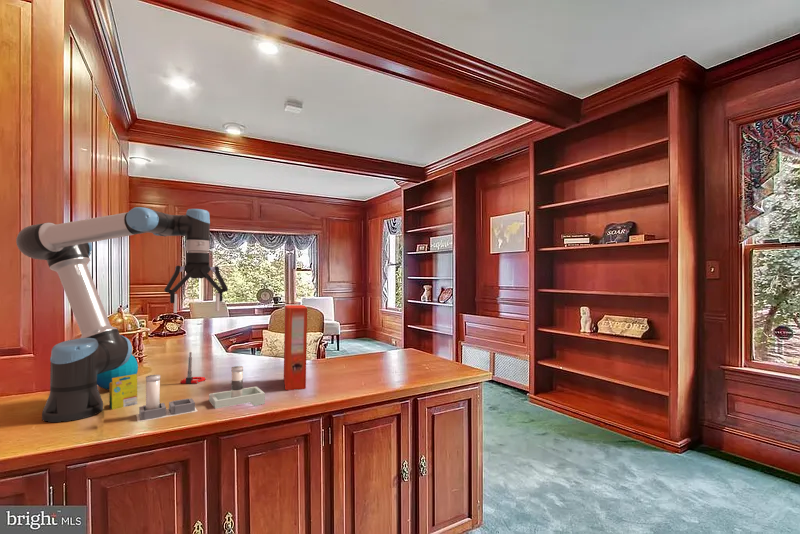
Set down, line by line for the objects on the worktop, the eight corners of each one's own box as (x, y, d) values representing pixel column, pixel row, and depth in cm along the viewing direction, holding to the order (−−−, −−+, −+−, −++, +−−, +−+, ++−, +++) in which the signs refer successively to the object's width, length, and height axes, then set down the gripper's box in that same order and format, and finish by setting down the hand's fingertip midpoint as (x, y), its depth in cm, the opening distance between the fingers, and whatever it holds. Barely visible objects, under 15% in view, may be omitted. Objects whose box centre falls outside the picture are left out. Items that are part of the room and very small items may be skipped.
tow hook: (189, 379, 172) (177, 384, 162) (190, 349, 172) (179, 352, 163) (208, 379, 172) (198, 384, 163) (209, 349, 173) (199, 352, 163)
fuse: (145, 418, 119) (146, 378, 119) (144, 414, 122) (145, 375, 122) (160, 415, 121) (160, 376, 122) (159, 412, 124) (159, 374, 125)
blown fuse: (229, 401, 137) (230, 367, 138) (241, 399, 140) (241, 365, 140) (232, 404, 134) (232, 369, 135) (244, 402, 136) (244, 367, 137)
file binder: (302, 378, 173) (303, 304, 173) (306, 388, 156) (307, 307, 157) (283, 379, 170) (284, 305, 171) (285, 390, 154) (286, 308, 154)
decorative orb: (82, 391, 152) (83, 352, 152) (125, 382, 165) (125, 346, 166) (103, 396, 145) (104, 355, 145) (145, 386, 158) (146, 349, 159)
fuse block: (137, 427, 116) (137, 413, 116) (136, 419, 123) (136, 406, 123) (197, 415, 126) (198, 403, 126) (193, 409, 132) (193, 397, 132)
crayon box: (134, 406, 134) (135, 372, 135) (137, 408, 132) (138, 373, 133) (108, 412, 129) (109, 376, 129) (111, 414, 127) (112, 378, 127)
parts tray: (215, 413, 128) (215, 401, 128) (208, 405, 136) (209, 393, 136) (264, 403, 138) (264, 392, 138) (256, 396, 146) (256, 386, 146)
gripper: (158, 250, 131) (157, 314, 131) (236, 253, 146) (236, 310, 146) (156, 251, 137) (155, 312, 137) (231, 254, 152) (231, 309, 152)
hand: (196, 311), depth 141 cm, fingers open, 13 cm apart
